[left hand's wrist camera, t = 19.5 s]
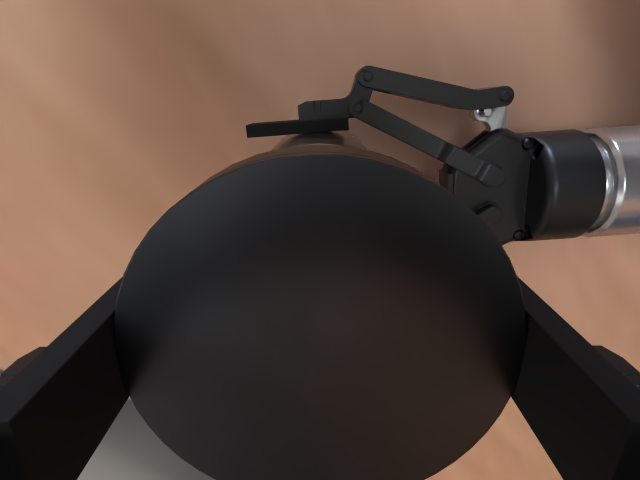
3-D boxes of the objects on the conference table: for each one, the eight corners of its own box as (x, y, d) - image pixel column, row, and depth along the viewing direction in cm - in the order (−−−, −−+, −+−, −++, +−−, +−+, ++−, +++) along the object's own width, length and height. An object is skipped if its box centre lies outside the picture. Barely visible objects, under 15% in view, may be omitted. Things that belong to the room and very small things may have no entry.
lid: (542, 163, 11) (583, 176, 9) (457, 465, 14) (475, 514, 13) (127, 126, 10) (90, 132, 9) (152, 445, 14) (130, 493, 12)
